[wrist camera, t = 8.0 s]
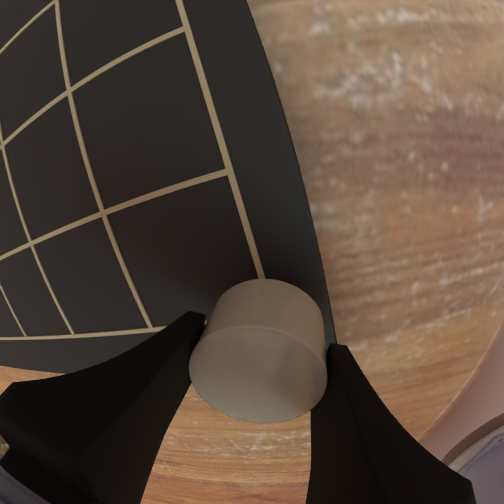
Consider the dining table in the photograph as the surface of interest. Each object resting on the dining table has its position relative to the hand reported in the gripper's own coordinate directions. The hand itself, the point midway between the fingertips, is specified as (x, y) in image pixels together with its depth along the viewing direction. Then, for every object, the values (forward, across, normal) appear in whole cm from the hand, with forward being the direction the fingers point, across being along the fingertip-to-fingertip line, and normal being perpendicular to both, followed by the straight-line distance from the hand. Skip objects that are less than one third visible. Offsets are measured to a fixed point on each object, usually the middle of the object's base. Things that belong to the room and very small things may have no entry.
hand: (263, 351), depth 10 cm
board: (+4, +19, -10) cm, 21 cm away
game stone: (+1, 0, 0) cm, 1 cm away
